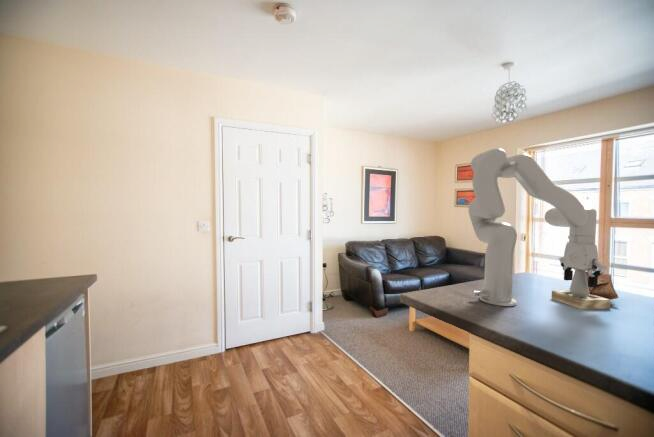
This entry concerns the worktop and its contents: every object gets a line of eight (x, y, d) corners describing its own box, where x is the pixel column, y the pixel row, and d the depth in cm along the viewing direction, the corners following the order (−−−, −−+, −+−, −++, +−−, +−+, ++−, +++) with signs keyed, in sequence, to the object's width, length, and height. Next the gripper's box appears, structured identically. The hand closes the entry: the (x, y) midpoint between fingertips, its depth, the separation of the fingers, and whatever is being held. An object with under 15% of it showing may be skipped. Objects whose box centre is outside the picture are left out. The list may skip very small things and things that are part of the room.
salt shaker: (591, 300, 105) (592, 266, 105) (571, 297, 108) (572, 264, 108) (587, 296, 110) (588, 263, 110) (568, 293, 113) (569, 262, 113)
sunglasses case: (620, 297, 105) (601, 285, 107) (603, 307, 109) (585, 296, 111) (610, 273, 118) (594, 263, 120) (595, 283, 123) (580, 273, 125)
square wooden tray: (580, 309, 103) (580, 300, 103) (551, 298, 115) (551, 290, 115) (609, 308, 104) (610, 299, 104) (578, 298, 116) (578, 290, 116)
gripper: (553, 237, 117) (551, 277, 117) (596, 242, 100) (593, 290, 100) (569, 237, 117) (567, 277, 118) (615, 242, 100) (612, 289, 101)
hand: (579, 283), depth 109 cm, fingers open, 9 cm apart
